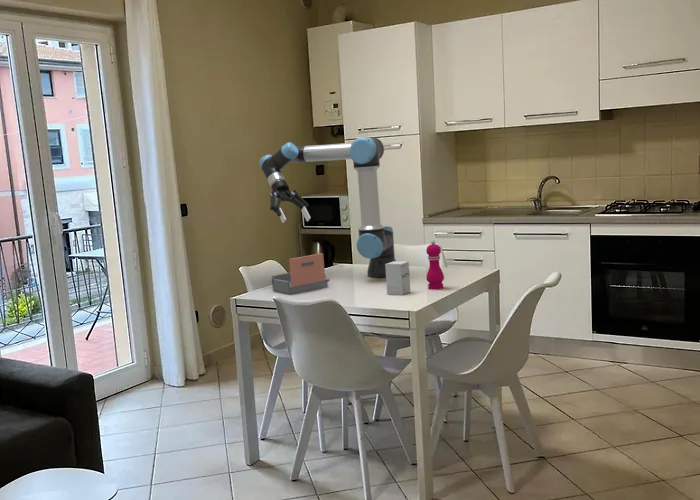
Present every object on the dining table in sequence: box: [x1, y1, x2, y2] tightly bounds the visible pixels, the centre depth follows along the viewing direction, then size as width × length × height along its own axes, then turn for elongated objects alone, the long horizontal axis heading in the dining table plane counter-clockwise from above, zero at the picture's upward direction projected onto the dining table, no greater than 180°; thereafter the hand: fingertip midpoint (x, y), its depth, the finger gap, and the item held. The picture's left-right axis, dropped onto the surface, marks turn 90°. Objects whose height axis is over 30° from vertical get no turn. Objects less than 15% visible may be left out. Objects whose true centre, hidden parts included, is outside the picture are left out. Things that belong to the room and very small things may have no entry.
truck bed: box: [271, 272, 330, 296], centre depth 311 cm, size 15×21×7 cm
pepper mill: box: [426, 239, 445, 290], centre depth 290 cm, size 7×7×20 cm
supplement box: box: [385, 260, 411, 296], centre depth 286 cm, size 7×7×13 cm
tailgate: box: [288, 252, 326, 287], centre depth 305 cm, size 2×17×12 cm, turn 128°
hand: (296, 220), depth 317 cm, fingers open, 13 cm apart
